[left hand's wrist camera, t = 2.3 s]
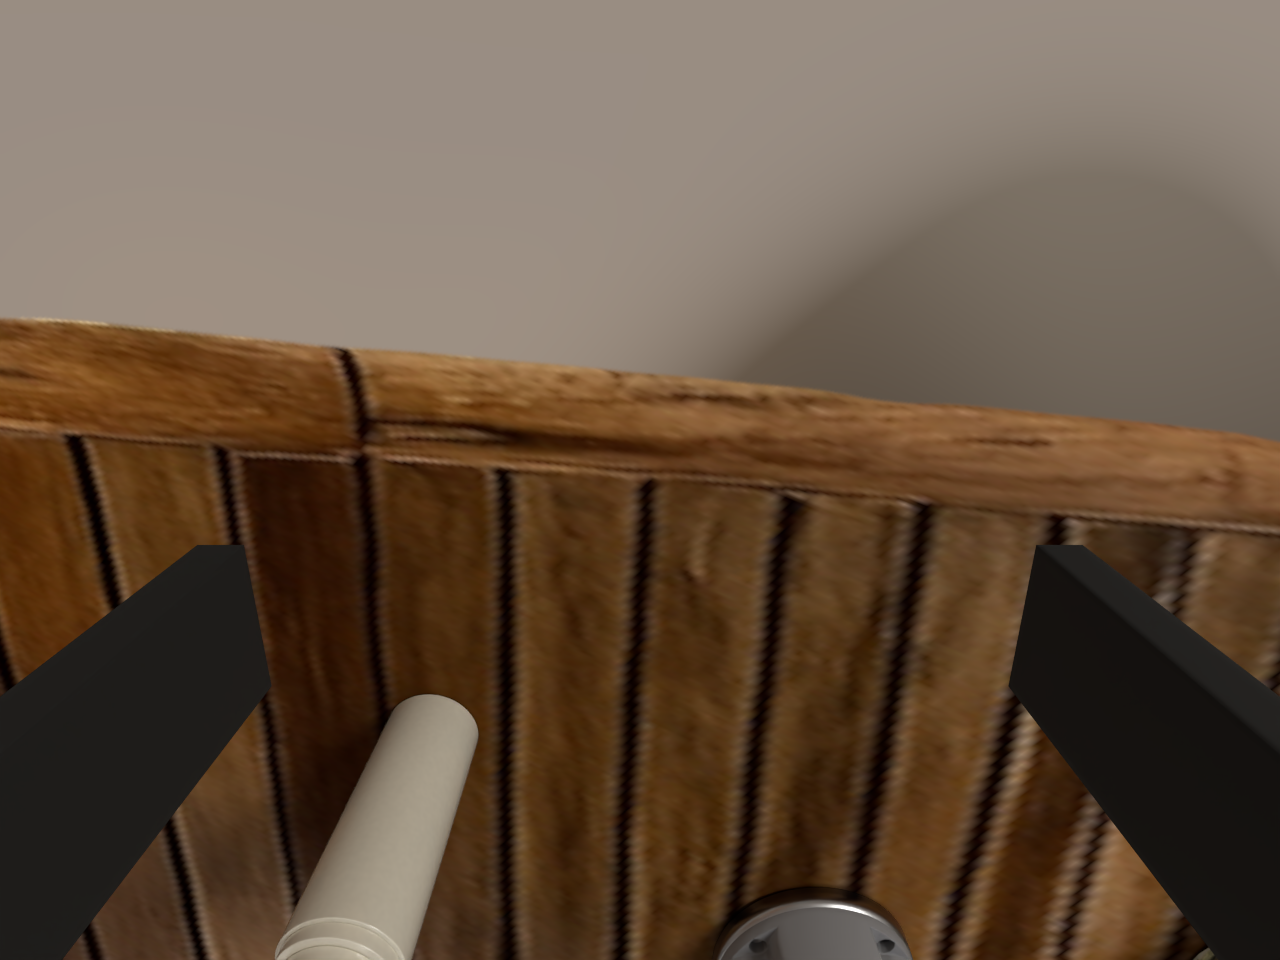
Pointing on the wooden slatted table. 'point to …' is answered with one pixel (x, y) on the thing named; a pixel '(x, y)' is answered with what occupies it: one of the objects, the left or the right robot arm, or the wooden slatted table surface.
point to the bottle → (387, 840)
